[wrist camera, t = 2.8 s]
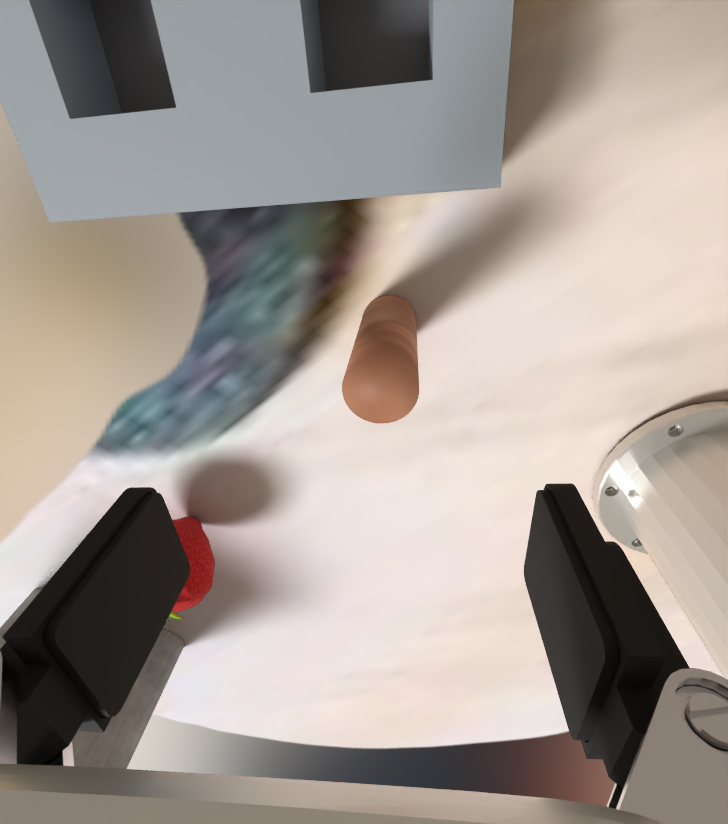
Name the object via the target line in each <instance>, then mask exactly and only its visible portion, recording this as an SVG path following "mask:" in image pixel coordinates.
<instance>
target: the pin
mask: <svg viewBox="0 0 728 824" xmlns="http://www.w3.org/2000/svg"><path fill="white" fill-rule="evenodd" d="M342 392H343V397H344V400H345V402H346V404H347V405H348V407H349V408H350V409H351V411H352V412H353V413H355V414H356V415H357V416H359V417H360V418H362V419H364V420H367V421H369V422H374V423H390V422H394V421H397V420H399V419H401V418H403V417H404V416H406V415H407V414H408V413H409V412H410V411H411V410H412V409H413V407H414V406H415V404H416V402H417V399H418V395H419V379H418V356H417V333H416V317H415V313H414V310H413V309H412V307H411V306H410V304H409V303H408V302H406V301H405V300H404V299H402V298H400V297H397V296H392V295H386V296H381V297H379V298H376V299H375V300H373V301H372V302H371V303H370V304H369V305H368V306H367V308H366V309H365V311H364V314H363V317H362V321H361V324H360V327H359V330H358V334H357V337H356V340H355V343H354V347H353V350H352V353H351V357H350V360H349V363H348V366H347V370H346V373H345V376H344V380H343V384H342Z"/></svg>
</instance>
